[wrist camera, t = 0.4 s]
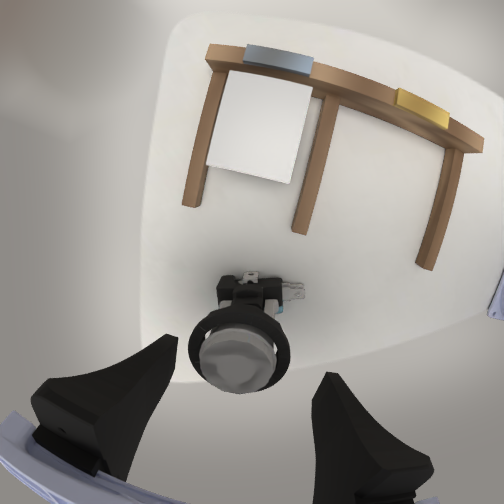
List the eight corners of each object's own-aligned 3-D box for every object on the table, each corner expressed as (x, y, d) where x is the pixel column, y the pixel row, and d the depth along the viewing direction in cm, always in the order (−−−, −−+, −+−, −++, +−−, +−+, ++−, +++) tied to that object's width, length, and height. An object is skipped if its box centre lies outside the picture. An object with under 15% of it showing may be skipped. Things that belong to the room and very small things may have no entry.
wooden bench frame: (456, 140, 17) (489, 138, 13) (424, 265, 21) (451, 285, 16) (221, 64, 18) (207, 39, 13) (187, 202, 21) (165, 211, 17)
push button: (302, 254, 21) (321, 319, 12) (303, 316, 23) (315, 403, 13) (216, 258, 22) (173, 322, 12) (223, 318, 23) (193, 402, 14)
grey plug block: (303, 110, 18) (312, 87, 13) (285, 180, 20) (289, 184, 14) (242, 96, 18) (229, 70, 13) (225, 166, 20) (205, 165, 14)
